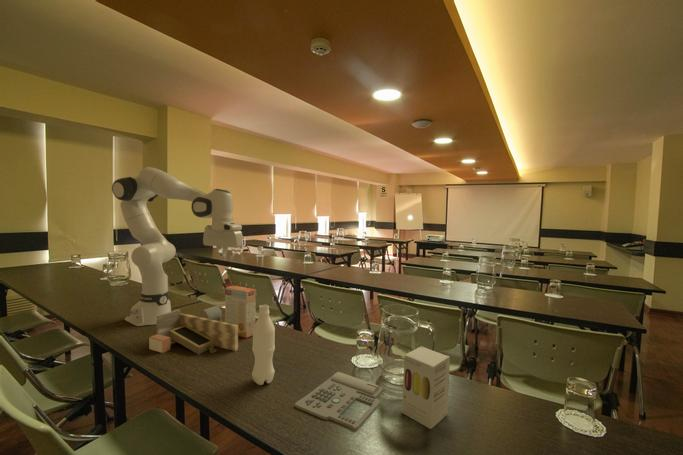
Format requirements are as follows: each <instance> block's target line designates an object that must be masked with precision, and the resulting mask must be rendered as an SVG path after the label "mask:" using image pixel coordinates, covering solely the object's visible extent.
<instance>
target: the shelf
mask: <svg viewBox="0 0 683 455" xmlns="http://www.w3.org/2000/svg"><path fill="white" fill-rule="evenodd" d="M155 325H156V326H155V327H156V329H155V330H156V334H160V335H163V336H167V337H169V331H170V330H172V329H175V328H178V327H181V326H184V325H187V326H189V327H191V328H193V329H195V330H196V331H198V332H200V333H202V334H204V335H206V336H208V337H209V338H211V339H213V340H215V343H214V347H218V348H222V349H225V350H230V351H233V352H236V351H238V350H239V336H238V325H235V324H230V323H226V322H225V321H222V320H221V321H216V320H211V319H207V318H202V317H200V316H197V315H192V314H188V313H182V312H181V309H174V310H173V311H172V310H171V312H168V313H165V314H162V315H158V316H156V324H155ZM156 334H155V335H156ZM170 339H171V338H170ZM176 343H177V342H176V341H174V340H173V339H171V345H174V344H176Z"/></svg>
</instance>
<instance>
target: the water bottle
mask: <svg viewBox="0 0 683 455" xmlns="http://www.w3.org/2000/svg"><path fill="white" fill-rule="evenodd" d="M269 308H270V307H269V304H260V305H259V308H258V309H259V310H258V312H257V313H258V317H257V319H256V320H255V325H254V328H253V332H252V333H253V336H252V348H251V350H252V353H253V355H254V363H253V364H254V366H253V369H252V373H251V375H252V376H251V377H252V381H253V382H254V383H256V384H257V385H259V386H262V385H264V383H267V384H270V383H272V381H273V379H274V376H275V373H276V372H275V371H276V370H275V369H274V368H275V367H274V365H273V357H274V352H275V350H276V346H275V345H276V344H275V341H276V340H275V332H276V328H275V325H274V323H273V321H272V320H271V318H270V309H269Z"/></svg>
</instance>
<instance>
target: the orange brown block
mask: <svg viewBox="0 0 683 455" xmlns="http://www.w3.org/2000/svg"><path fill="white" fill-rule="evenodd" d="M148 337H149V338H148V349H149V350H151V351H153V352H157V353H160V354H164V353H166V352H169V351H171V347H172V346H171V339H170V337H167V336H163V335H160V334H154V335H151V336H148Z"/></svg>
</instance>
